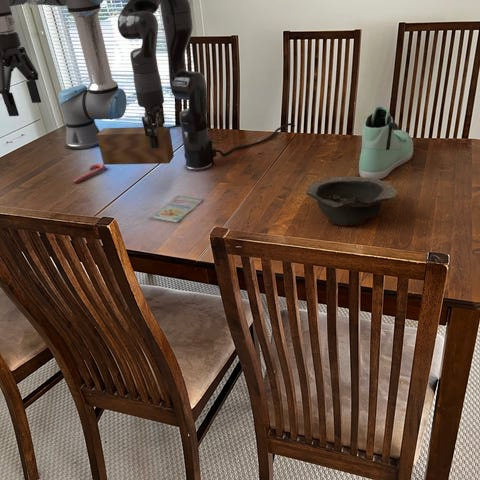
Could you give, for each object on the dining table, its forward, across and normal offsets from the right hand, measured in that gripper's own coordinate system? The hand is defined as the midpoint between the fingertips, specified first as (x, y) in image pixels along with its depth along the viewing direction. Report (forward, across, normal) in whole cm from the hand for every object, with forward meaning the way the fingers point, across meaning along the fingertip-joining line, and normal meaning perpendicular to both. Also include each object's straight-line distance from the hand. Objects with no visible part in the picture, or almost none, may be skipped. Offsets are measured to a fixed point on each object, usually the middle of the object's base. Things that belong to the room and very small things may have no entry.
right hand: (158, 143), depth 145 cm
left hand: (-12, -1, +39) cm, 41 cm away
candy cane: (+18, +17, +34) cm, 42 cm away
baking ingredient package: (+18, -10, -6) cm, 21 cm away
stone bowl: (+18, -11, -57) cm, 60 cm away
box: (+5, 0, +7) cm, 9 cm away
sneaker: (+18, +26, -71) cm, 78 cm away
